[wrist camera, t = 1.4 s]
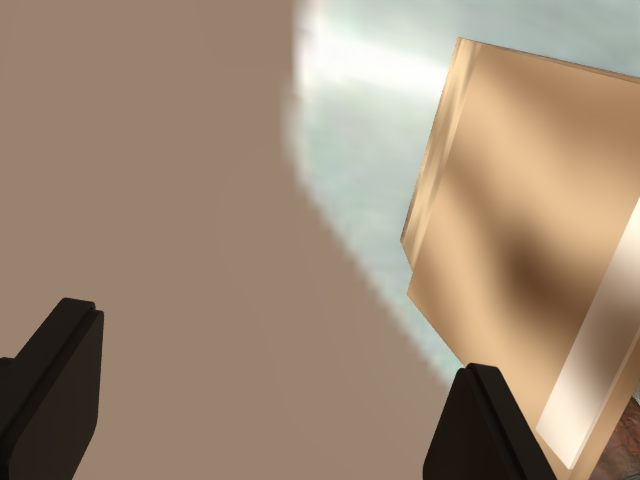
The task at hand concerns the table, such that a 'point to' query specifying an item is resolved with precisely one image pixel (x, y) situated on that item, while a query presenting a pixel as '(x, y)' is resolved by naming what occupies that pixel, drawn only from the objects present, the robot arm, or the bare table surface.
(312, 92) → the table surface
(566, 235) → the lid
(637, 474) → the sauce bottle
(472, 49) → the box
